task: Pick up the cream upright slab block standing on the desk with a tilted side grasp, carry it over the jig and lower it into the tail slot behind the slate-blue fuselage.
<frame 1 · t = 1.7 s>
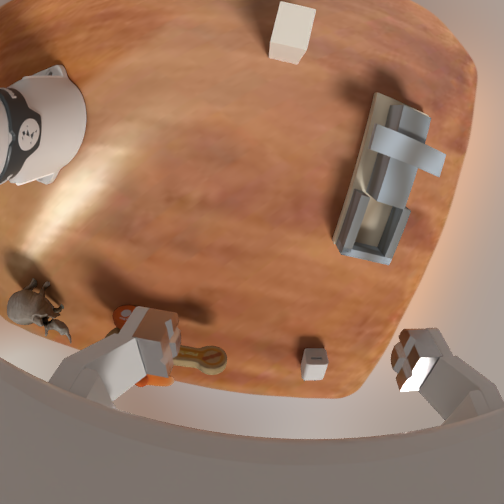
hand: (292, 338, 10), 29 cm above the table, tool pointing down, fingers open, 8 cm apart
rhinoceros figurine: (50, 295, 46), on the table
toy helicopter: (165, 327, 48), on the table
cream upright slab block: (287, 43, 27), on the table
usb wall charger: (311, 360, 50), on the table
jig: (380, 179, 35), on the table
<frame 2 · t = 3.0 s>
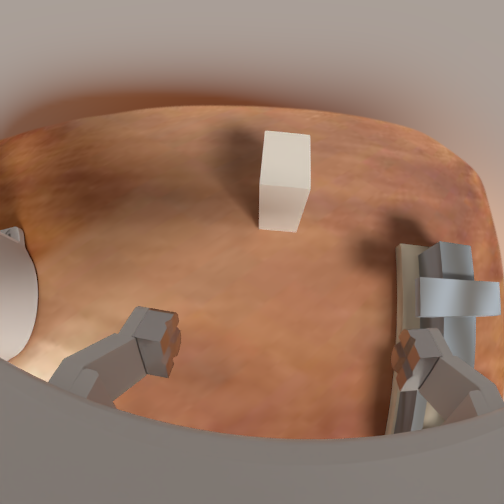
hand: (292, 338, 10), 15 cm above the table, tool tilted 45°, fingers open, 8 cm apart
cream upright slab block: (279, 206, 28), on the table
jig: (428, 358, 23), on the table
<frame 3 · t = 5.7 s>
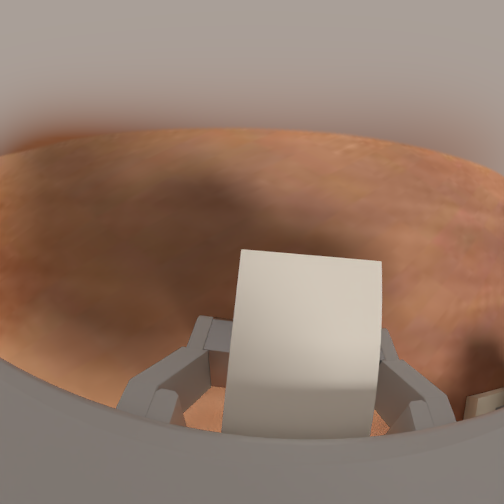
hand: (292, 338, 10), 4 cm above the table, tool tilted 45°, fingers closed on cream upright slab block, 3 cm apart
cream upright slab block: (281, 352, 14), on the table, touching gripper
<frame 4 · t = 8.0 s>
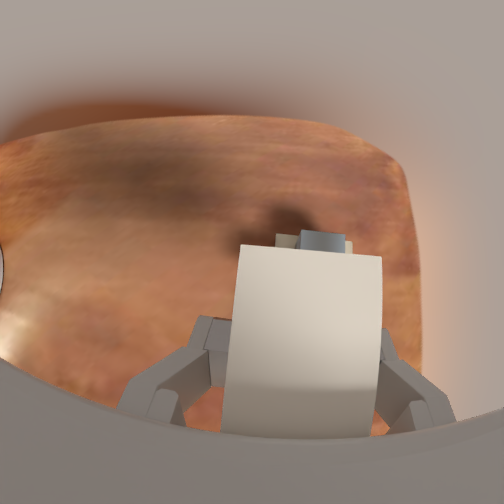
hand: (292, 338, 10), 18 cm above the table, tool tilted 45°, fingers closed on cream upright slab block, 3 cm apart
cream upright slab block: (281, 350, 14), point 14 cm above the table, touching gripper
jig: (305, 347, 27), on the table
when the fingers open (8 cm above the table, at t = 10.7 s): cream upright slab block drops 2 cm, resting on jig.
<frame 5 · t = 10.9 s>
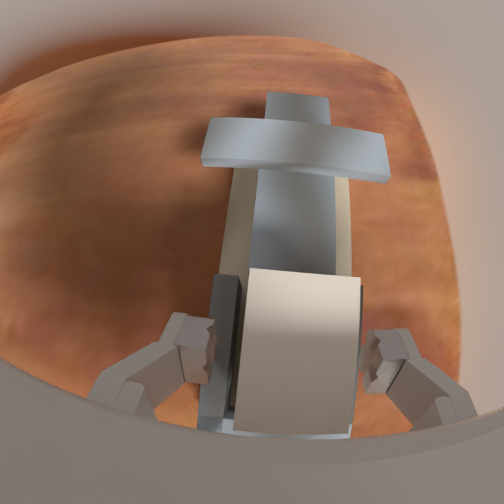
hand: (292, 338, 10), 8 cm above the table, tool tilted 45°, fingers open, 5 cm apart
cream upright slab block: (278, 350, 16), point 1 cm above the table, touching jig
jig: (285, 264, 18), on the table
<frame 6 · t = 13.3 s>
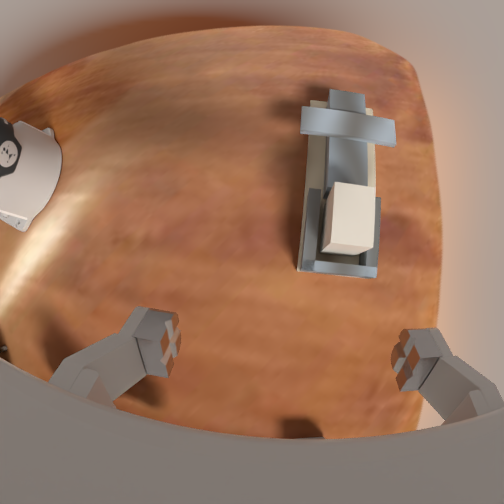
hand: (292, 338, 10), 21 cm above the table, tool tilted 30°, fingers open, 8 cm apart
cream upright slab block: (337, 231, 30), point 1 cm above the table, touching jig
jig: (339, 187, 31), on the table
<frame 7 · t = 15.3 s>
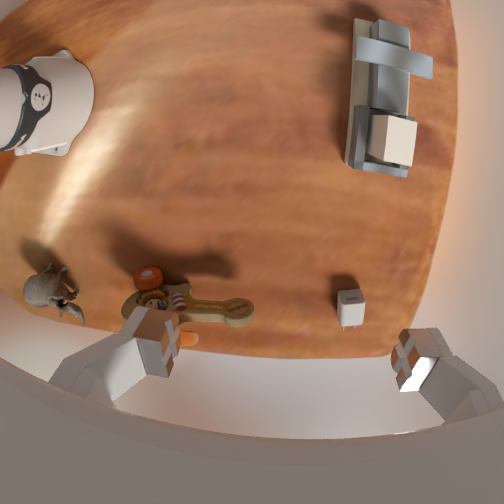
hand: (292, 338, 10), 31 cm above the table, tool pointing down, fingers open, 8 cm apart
rhinoceros figurine: (66, 280, 50), on the table
toy helicopter: (189, 287, 47), on the table
cream upright slab block: (377, 135, 33), point 1 cm above the table, touching jig
usb wall charger: (347, 305, 46), on the table
jig: (378, 97, 31), on the table
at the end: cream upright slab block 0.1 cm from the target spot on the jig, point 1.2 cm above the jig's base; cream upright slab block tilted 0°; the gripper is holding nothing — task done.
